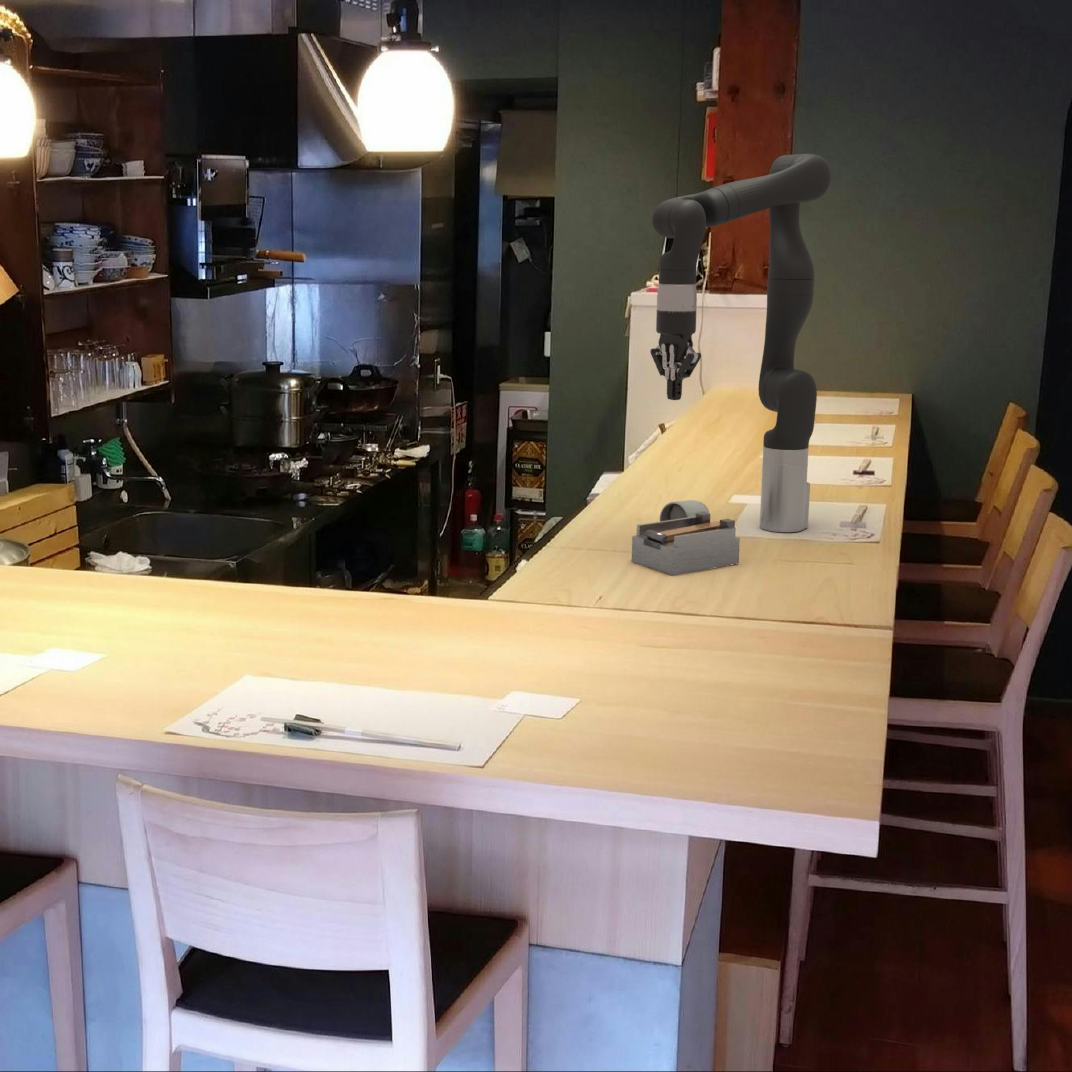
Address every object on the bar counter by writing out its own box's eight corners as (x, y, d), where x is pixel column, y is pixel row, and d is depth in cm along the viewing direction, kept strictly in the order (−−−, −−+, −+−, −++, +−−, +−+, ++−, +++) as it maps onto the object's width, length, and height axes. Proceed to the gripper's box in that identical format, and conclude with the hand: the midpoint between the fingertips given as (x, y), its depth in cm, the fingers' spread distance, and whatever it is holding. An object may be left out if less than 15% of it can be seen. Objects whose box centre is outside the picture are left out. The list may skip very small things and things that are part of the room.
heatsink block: (697, 550, 262) (698, 510, 260) (738, 563, 252) (740, 522, 250) (631, 561, 253) (632, 520, 251) (671, 575, 243) (673, 532, 241)
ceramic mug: (712, 536, 274) (713, 499, 272) (687, 542, 268) (688, 504, 267) (671, 528, 281) (672, 492, 280) (646, 535, 276) (647, 498, 274)
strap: (715, 525, 258) (715, 517, 257) (730, 529, 254) (730, 521, 254) (645, 538, 249) (645, 530, 248) (660, 543, 245) (660, 534, 245)
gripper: (714, 309, 252) (711, 402, 255) (670, 305, 262) (667, 394, 266) (683, 310, 247) (680, 404, 251) (639, 307, 258) (637, 397, 262)
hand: (673, 399), depth 259 cm, fingers closed
